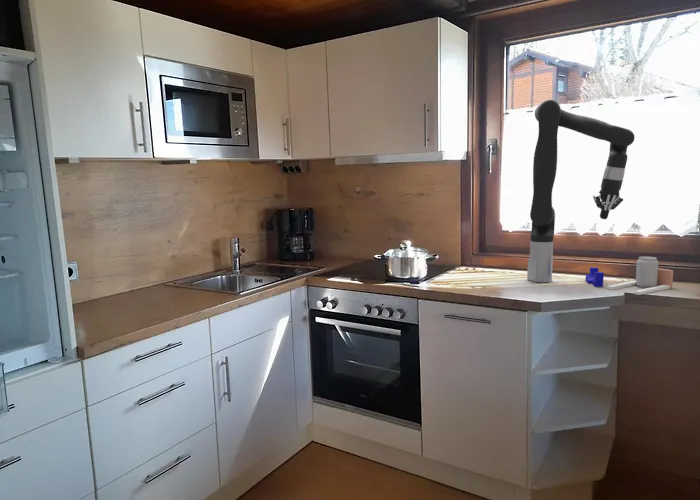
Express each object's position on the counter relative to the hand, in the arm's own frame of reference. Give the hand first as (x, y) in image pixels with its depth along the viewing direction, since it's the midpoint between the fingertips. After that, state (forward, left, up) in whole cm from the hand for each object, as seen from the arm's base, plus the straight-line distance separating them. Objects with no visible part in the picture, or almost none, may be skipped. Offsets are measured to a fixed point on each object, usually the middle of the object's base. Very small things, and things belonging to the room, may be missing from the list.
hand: (603, 218), depth 220 cm
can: (+7, -17, -27) cm, 32 cm away
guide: (+2, -19, -26) cm, 33 cm away
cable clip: (-8, -6, -27) cm, 29 cm away
